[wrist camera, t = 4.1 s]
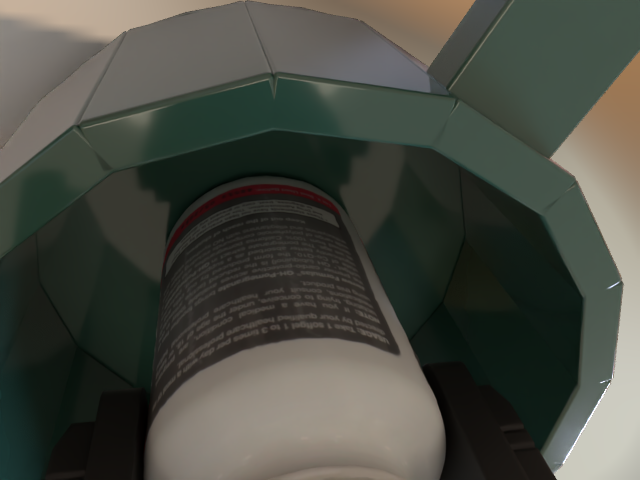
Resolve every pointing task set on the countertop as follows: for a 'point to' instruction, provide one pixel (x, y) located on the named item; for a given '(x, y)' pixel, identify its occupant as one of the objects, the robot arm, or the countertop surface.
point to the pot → (330, 177)
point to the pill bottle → (282, 349)
